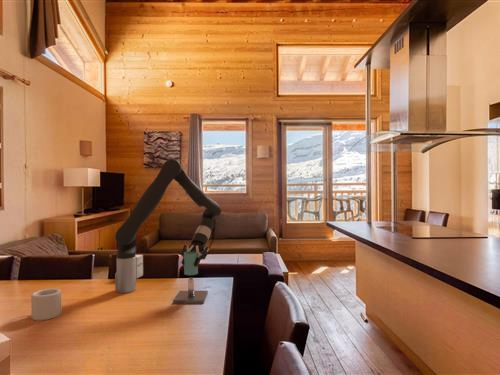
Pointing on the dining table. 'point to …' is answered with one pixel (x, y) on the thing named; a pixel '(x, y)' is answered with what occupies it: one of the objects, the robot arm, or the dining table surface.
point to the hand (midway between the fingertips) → (189, 265)
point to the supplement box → (139, 266)
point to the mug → (46, 304)
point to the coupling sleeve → (190, 263)
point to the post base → (191, 299)
